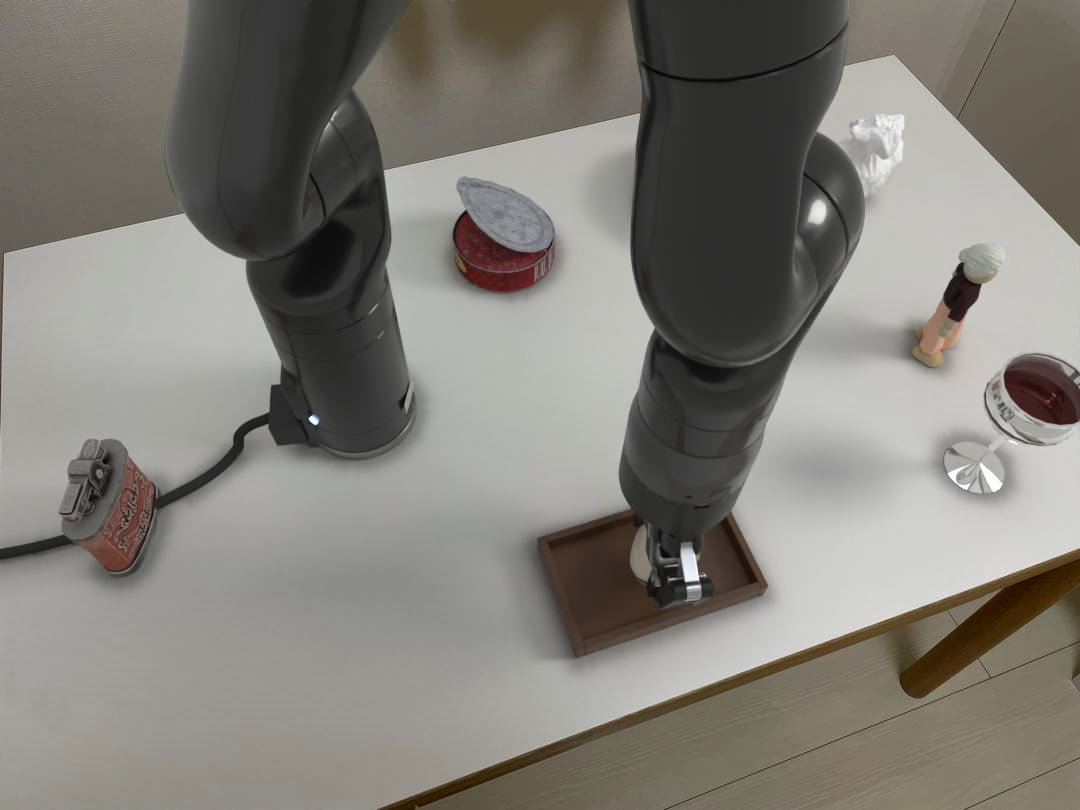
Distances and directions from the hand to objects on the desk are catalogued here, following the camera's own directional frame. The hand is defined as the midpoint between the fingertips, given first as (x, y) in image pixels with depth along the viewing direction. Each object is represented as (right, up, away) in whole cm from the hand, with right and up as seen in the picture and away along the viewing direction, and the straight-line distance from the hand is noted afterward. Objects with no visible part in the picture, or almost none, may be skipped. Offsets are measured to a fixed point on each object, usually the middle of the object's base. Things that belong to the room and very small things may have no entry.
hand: (653, 556), depth 63 cm
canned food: (-12, +26, +20) cm, 35 cm away
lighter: (-41, +1, +4) cm, 41 cm away
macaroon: (0, 0, +1) cm, 1 cm away
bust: (+23, +34, +25) cm, 48 cm away
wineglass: (+28, +6, +8) cm, 30 cm away
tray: (0, -2, +3) cm, 3 cm away
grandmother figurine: (+28, +17, +15) cm, 36 cm away
